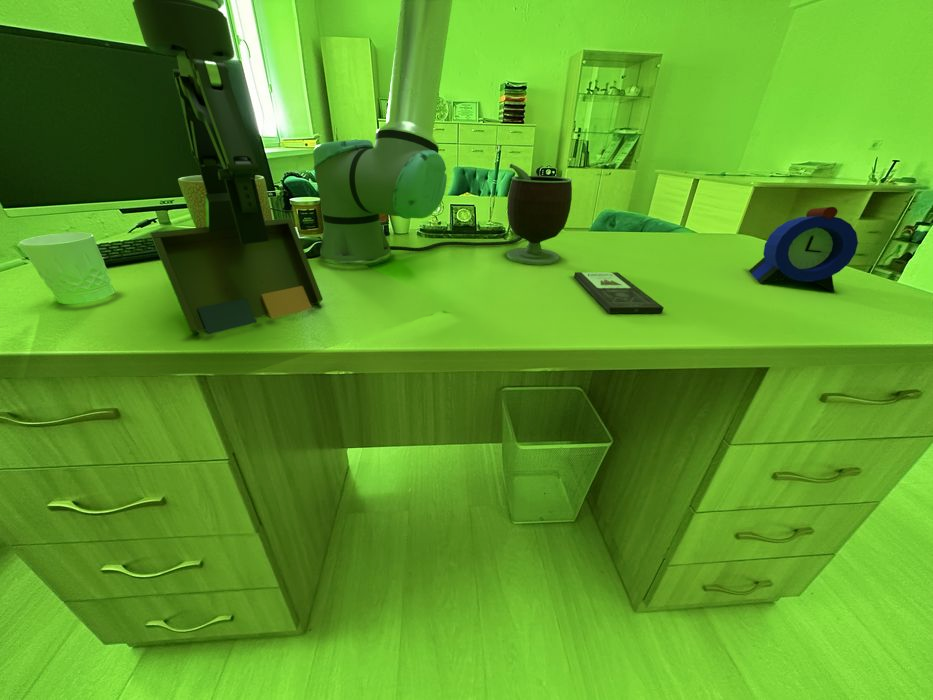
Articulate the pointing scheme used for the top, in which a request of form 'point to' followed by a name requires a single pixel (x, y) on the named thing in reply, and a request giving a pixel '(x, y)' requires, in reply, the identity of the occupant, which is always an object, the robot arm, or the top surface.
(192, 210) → the planter
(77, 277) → the white cup
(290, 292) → the block
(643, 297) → the chocolate bar
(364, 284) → the top surface
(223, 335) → the top surface
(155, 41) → the robot arm
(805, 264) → the alarm clock
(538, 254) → the mate gourd
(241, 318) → the block
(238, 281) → the dustpan
